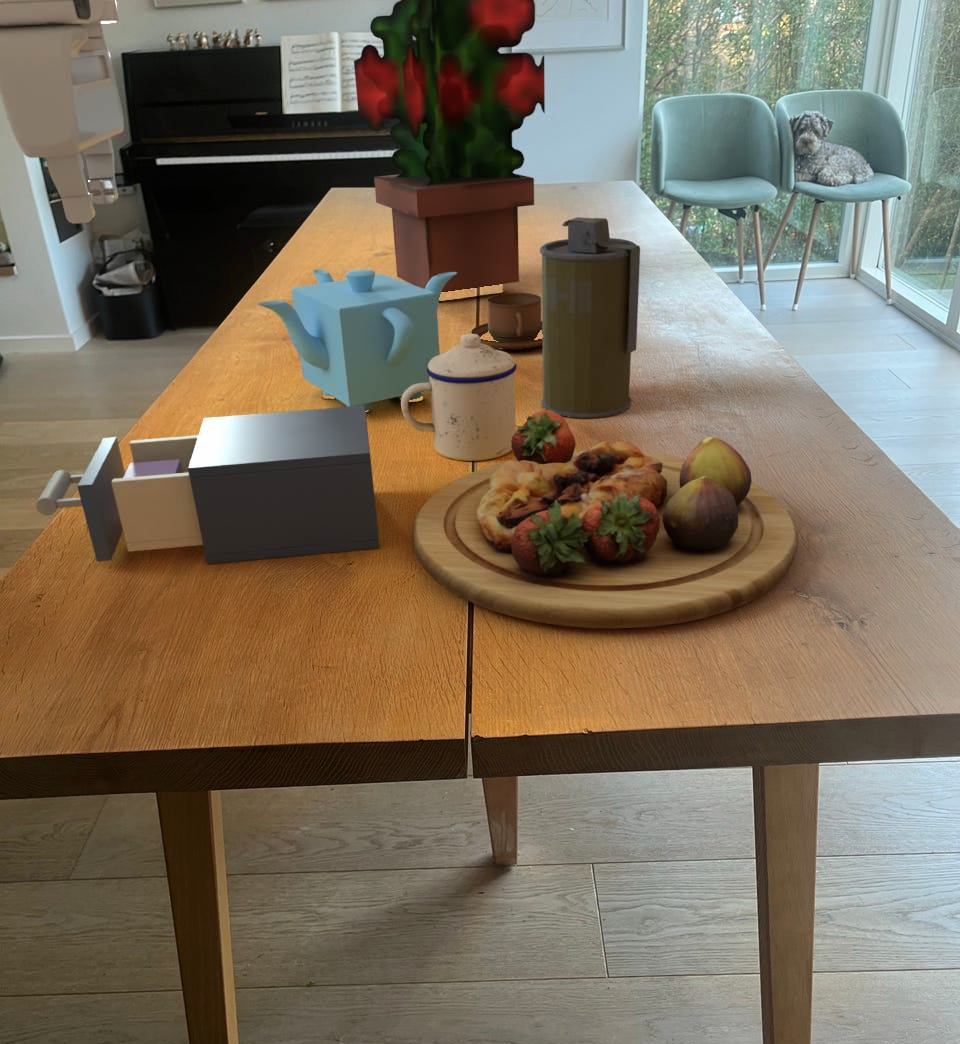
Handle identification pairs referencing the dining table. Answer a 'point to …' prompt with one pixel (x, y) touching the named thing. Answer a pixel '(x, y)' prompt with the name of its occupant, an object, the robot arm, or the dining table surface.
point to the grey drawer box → (284, 484)
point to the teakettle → (364, 334)
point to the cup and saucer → (512, 321)
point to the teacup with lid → (469, 401)
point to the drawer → (131, 498)
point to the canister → (588, 320)
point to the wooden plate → (605, 532)
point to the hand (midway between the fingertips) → (95, 212)
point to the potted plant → (453, 134)
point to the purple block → (153, 468)
